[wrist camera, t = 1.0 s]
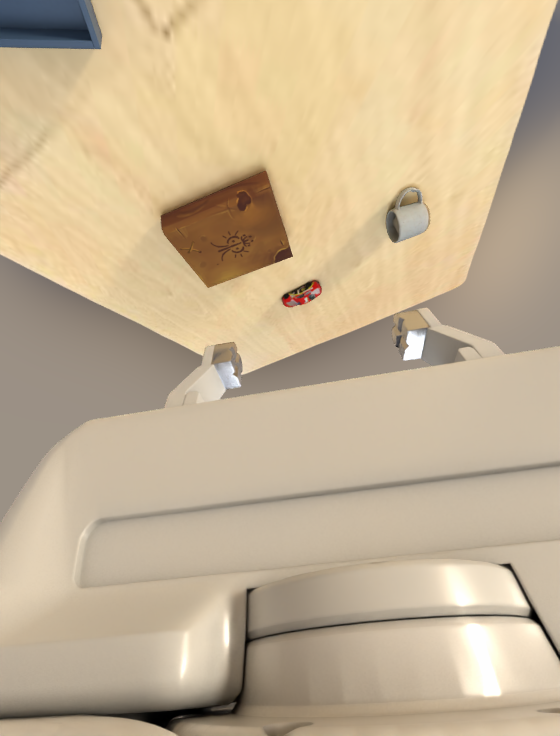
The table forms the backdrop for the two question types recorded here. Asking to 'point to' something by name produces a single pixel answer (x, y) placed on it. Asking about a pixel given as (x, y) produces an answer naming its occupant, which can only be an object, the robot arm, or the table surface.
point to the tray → (49, 24)
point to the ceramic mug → (407, 218)
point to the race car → (302, 294)
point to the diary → (229, 231)
